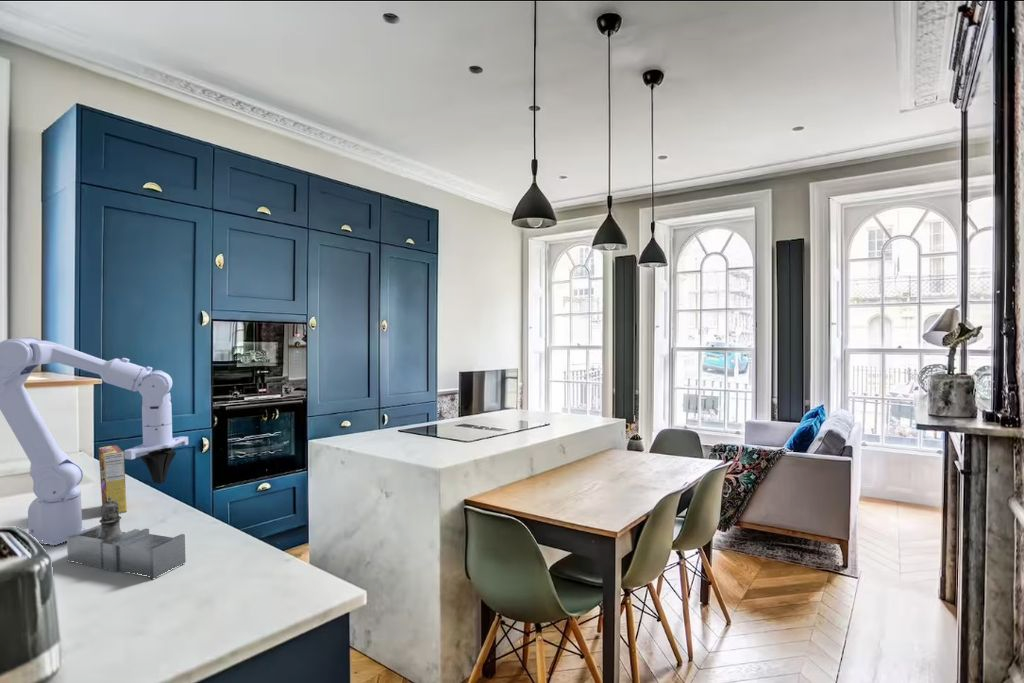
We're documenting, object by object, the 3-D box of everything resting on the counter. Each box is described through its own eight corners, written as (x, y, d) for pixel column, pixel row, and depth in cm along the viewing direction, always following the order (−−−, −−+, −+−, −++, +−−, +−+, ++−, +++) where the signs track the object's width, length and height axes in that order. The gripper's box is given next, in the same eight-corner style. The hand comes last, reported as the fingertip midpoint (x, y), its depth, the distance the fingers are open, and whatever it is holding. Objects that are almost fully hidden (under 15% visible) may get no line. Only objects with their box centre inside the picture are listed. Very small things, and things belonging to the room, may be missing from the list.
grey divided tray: (65, 562, 108) (64, 533, 107) (103, 547, 115) (102, 520, 114) (153, 579, 101) (152, 548, 101) (188, 562, 108) (187, 533, 108)
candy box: (100, 507, 139) (98, 447, 138) (120, 503, 142) (118, 444, 141) (105, 516, 132) (103, 453, 131) (127, 512, 135) (125, 450, 134)
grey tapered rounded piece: (110, 562, 108) (108, 502, 107) (85, 560, 109) (83, 500, 108) (136, 550, 114) (134, 493, 113) (112, 547, 115) (110, 491, 114)
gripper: (140, 431, 118) (142, 494, 119) (197, 419, 132) (199, 475, 132) (116, 429, 120) (118, 490, 121) (174, 417, 134) (176, 472, 134)
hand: (159, 482), depth 127 cm, fingers closed
